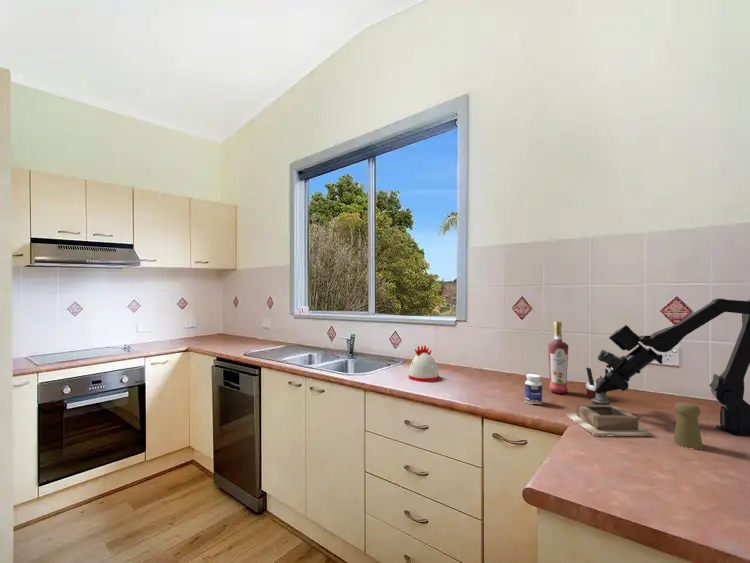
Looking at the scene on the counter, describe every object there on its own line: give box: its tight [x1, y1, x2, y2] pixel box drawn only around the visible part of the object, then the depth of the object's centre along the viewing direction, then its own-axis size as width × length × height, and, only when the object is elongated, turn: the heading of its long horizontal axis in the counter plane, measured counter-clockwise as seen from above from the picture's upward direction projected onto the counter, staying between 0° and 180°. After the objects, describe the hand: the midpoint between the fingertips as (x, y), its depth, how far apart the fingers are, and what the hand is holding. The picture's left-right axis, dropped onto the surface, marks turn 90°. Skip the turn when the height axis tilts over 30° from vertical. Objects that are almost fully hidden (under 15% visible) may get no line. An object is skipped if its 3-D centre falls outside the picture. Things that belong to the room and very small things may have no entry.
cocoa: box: [585, 367, 596, 400], centre depth 140 cm, size 10×6×12 cm, turn 98°
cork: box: [672, 401, 704, 450], centre depth 100 cm, size 6×6×11 cm
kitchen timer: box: [408, 344, 440, 383], centre depth 172 cm, size 14×14×15 cm
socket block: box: [565, 404, 652, 438], centre depth 113 cm, size 16×16×4 cm
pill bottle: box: [524, 373, 543, 405], centre depth 135 cm, size 6×6×10 cm
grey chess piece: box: [590, 375, 612, 405], centre depth 126 cm, size 6×6×12 cm
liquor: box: [547, 321, 569, 395], centre depth 148 cm, size 7×7×28 cm
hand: (596, 390), depth 127 cm, fingers closed on grey chess piece, 4 cm apart
